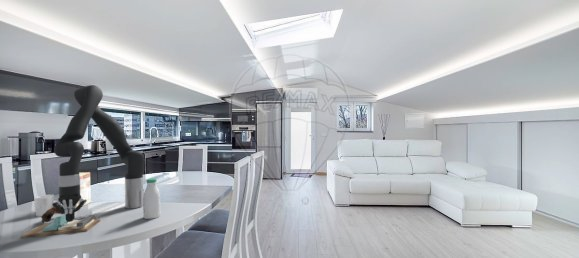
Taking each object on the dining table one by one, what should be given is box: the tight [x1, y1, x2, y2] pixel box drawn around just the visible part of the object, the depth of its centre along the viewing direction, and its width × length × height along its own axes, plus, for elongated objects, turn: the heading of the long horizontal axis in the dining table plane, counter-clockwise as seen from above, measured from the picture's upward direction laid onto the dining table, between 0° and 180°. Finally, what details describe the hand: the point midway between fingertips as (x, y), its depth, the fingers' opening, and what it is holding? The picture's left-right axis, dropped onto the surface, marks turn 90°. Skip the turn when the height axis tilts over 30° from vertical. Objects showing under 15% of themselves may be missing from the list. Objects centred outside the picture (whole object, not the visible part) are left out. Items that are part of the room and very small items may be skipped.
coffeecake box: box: [75, 171, 92, 208], centre depth 153 cm, size 15×7×20 cm, turn 12°
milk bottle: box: [142, 177, 161, 220], centre depth 132 cm, size 8×8×20 cm
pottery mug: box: [41, 206, 65, 224], centre depth 128 cm, size 12×10×8 cm
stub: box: [43, 214, 67, 231], centre depth 116 cm, size 5×9×5 cm, turn 16°
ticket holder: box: [20, 213, 101, 239], centre depth 117 cm, size 24×13×4 cm, turn 106°
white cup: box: [33, 193, 55, 217], centre depth 138 cm, size 8×8×10 cm
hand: (70, 221), depth 117 cm, fingers closed
